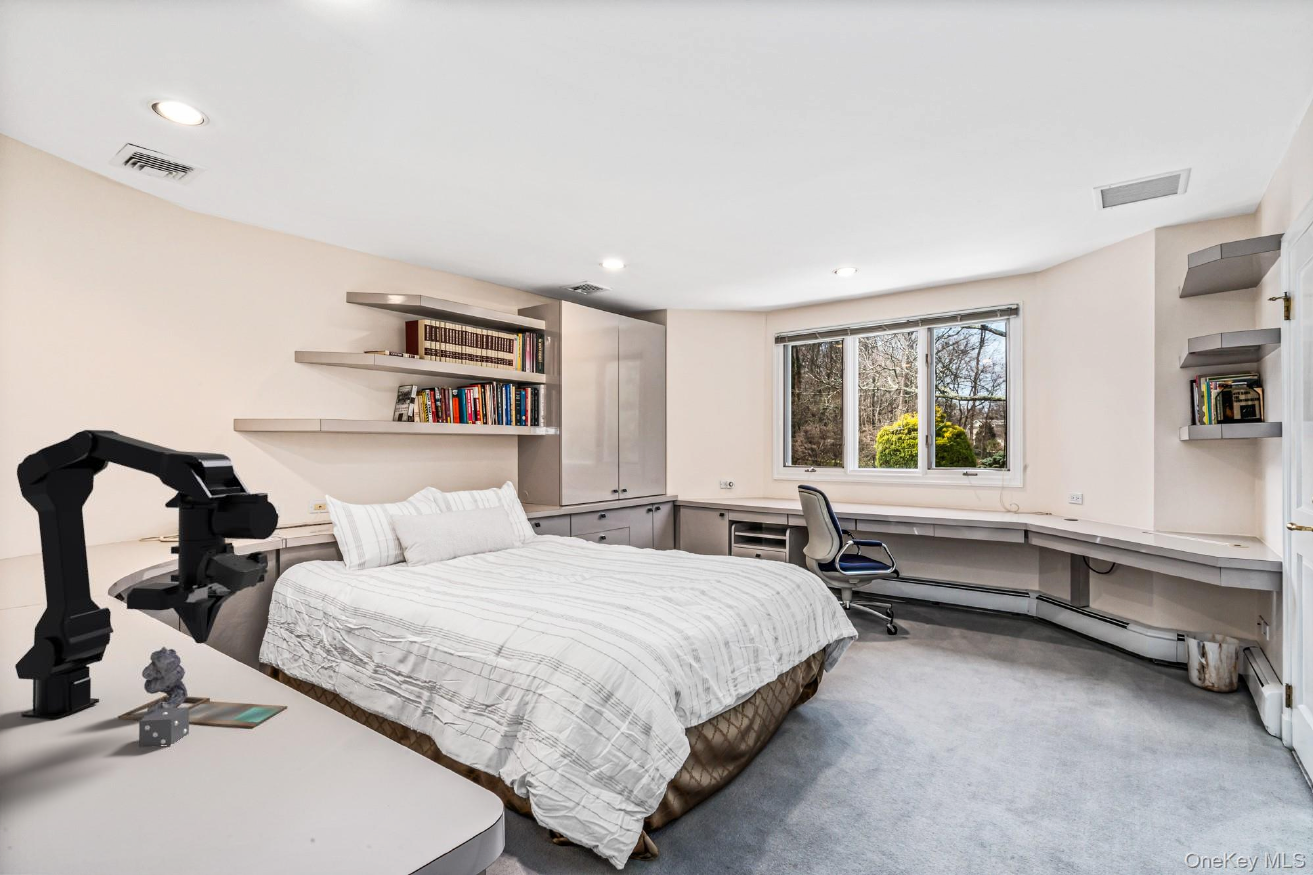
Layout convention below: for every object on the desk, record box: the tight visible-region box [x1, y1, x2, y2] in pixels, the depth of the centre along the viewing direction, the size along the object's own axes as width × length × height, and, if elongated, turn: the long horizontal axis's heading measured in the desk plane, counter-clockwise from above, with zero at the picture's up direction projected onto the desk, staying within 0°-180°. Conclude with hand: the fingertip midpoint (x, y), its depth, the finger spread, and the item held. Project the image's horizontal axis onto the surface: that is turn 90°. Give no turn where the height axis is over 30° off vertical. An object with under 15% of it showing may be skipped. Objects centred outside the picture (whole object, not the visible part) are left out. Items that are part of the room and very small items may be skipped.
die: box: [138, 706, 190, 748], centre depth 88 cm, size 4×4×4 cm
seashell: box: [141, 646, 189, 714], centre depth 98 cm, size 5×5×10 cm
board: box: [189, 700, 288, 729], centre depth 97 cm, size 15×7×1 cm, turn 82°
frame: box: [117, 694, 211, 722], centre depth 98 cm, size 8×8×1 cm
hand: (201, 642), depth 94 cm, fingers closed
